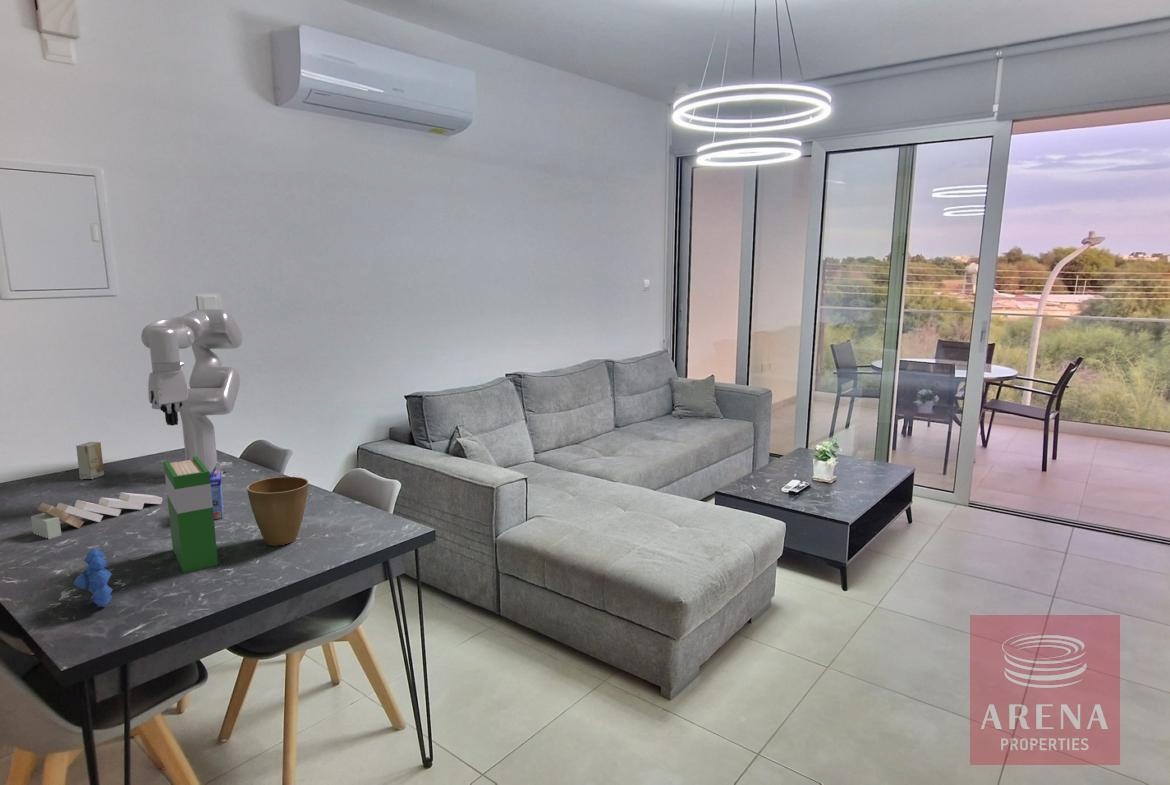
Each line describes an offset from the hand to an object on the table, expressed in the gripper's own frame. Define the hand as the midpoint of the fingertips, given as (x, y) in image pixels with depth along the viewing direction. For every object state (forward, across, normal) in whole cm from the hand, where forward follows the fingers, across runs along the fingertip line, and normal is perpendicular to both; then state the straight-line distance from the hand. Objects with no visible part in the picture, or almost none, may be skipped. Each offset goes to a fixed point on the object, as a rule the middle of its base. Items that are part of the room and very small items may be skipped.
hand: (172, 424), depth 209 cm
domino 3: (+23, +19, 0) cm, 30 cm away
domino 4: (+23, +13, 0) cm, 26 cm away
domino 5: (+23, +7, 0) cm, 24 cm away
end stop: (+23, +37, 0) cm, 44 cm away
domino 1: (+23, +30, 0) cm, 37 cm away
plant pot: (+23, +10, +60) cm, 66 cm away
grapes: (+23, +53, +55) cm, 79 cm away
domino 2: (+23, +25, 0) cm, 33 cm away
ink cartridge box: (+24, +6, +26) cm, 36 cm away
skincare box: (+24, +2, -46) cm, 52 cm away
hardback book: (+23, +28, +50) cm, 62 cm away
